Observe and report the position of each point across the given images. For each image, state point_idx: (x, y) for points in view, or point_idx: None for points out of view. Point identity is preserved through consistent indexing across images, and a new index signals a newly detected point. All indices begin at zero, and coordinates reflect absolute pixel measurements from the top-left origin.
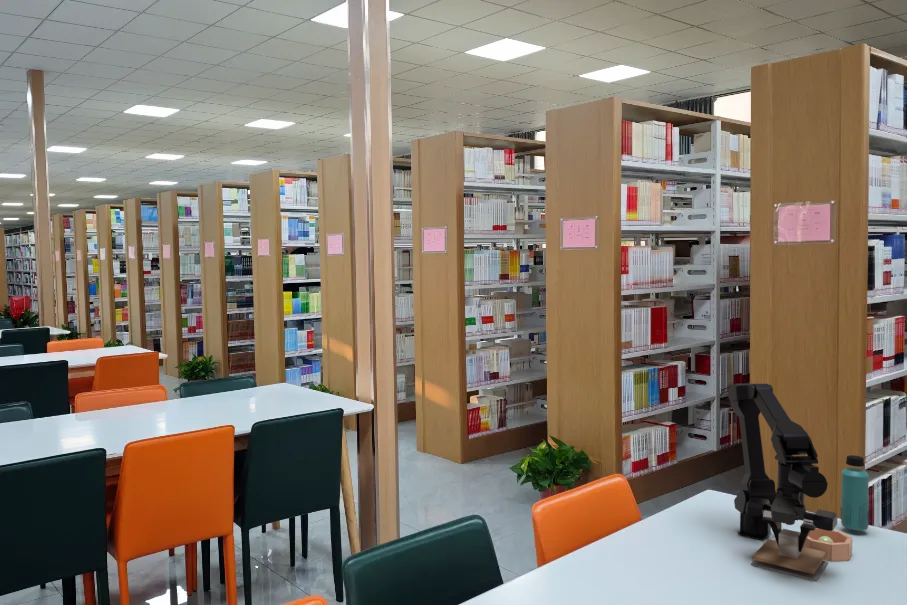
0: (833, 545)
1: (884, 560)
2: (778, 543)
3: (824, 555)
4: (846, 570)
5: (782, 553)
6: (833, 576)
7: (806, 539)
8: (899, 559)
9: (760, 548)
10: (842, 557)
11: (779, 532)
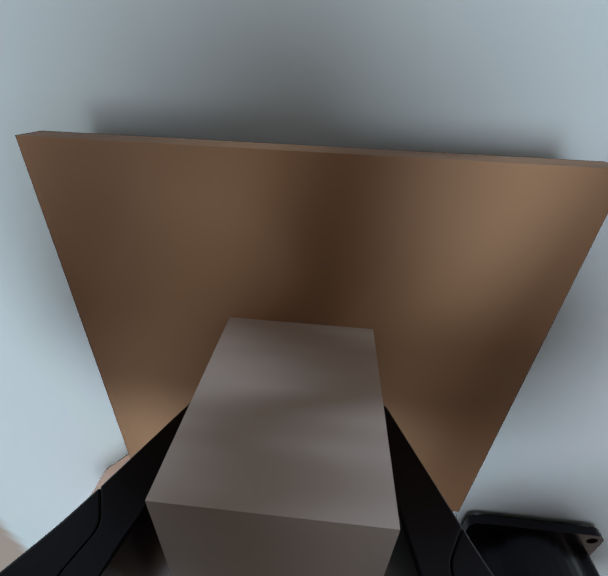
0: None
1: (25, 507)
2: (387, 428)
3: (125, 439)
4: (55, 384)
5: (340, 337)
6: (51, 285)
7: None
8: (2, 525)
9: (520, 374)
10: (111, 474)
11: (395, 560)
